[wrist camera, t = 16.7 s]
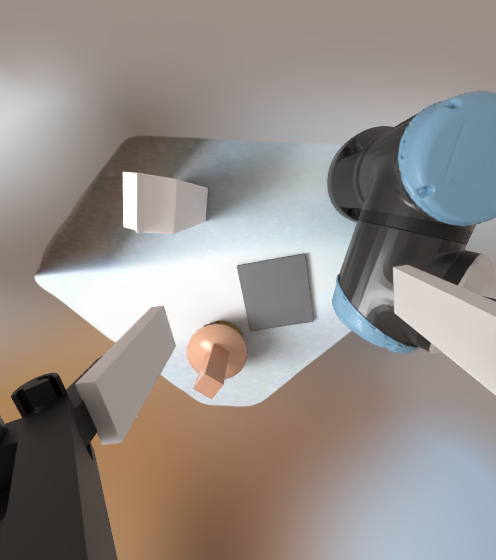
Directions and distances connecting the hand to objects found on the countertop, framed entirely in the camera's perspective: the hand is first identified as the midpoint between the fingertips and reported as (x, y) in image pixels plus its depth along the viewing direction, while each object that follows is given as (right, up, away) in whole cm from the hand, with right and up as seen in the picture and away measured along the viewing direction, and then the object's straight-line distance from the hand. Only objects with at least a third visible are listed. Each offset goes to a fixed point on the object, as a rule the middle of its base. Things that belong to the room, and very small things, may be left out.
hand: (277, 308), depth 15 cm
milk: (-12, +16, +32) cm, 38 cm away
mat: (+4, -1, +37) cm, 37 cm away
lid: (-8, -12, +36) cm, 39 cm away
